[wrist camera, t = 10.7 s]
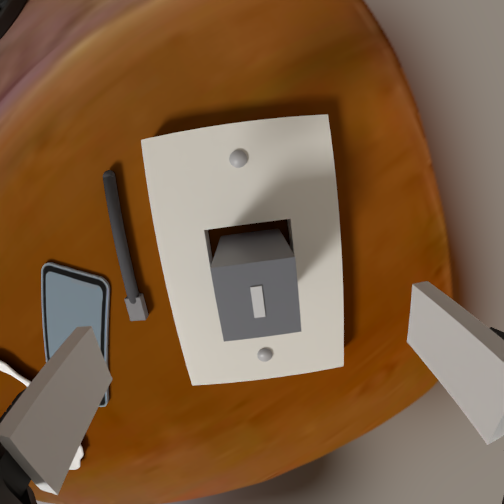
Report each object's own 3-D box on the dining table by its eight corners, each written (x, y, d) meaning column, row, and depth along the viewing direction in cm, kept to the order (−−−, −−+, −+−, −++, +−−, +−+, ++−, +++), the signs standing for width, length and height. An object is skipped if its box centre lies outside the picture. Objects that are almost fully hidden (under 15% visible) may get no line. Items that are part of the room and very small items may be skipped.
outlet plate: (149, 142, 22) (140, 139, 20) (321, 118, 22) (328, 114, 20) (195, 372, 27) (192, 386, 25) (337, 353, 27) (343, 367, 25)
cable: (103, 172, 22) (97, 172, 21) (118, 168, 22) (113, 168, 21) (133, 316, 26) (130, 321, 25) (148, 315, 26) (145, 320, 25)
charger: (220, 235, 24) (209, 268, 16) (278, 228, 24) (295, 257, 16) (229, 289, 25) (223, 342, 17) (284, 282, 25) (301, 332, 17)
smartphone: (110, 280, 24) (107, 409, 28) (114, 276, 25) (110, 404, 29) (41, 260, 24) (49, 387, 27) (46, 257, 25) (53, 383, 28)
